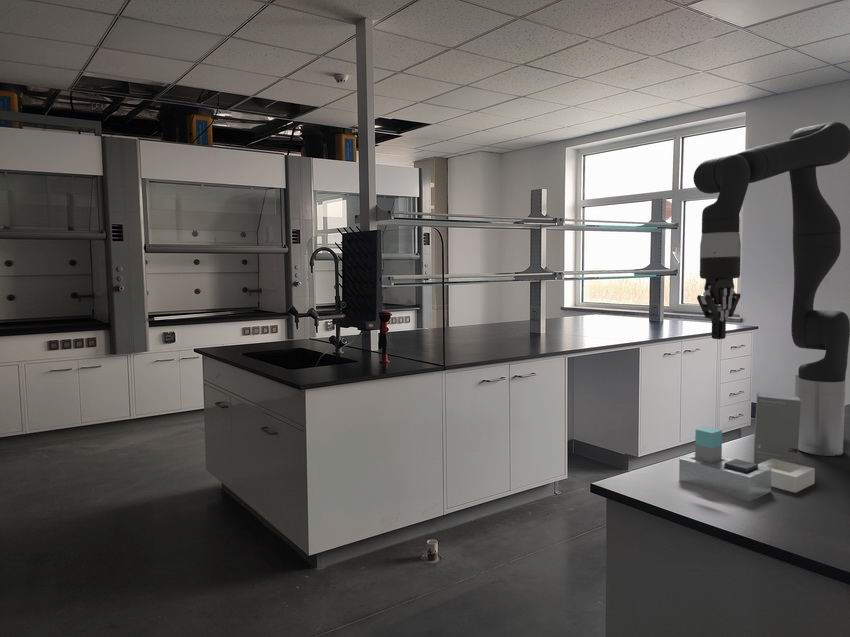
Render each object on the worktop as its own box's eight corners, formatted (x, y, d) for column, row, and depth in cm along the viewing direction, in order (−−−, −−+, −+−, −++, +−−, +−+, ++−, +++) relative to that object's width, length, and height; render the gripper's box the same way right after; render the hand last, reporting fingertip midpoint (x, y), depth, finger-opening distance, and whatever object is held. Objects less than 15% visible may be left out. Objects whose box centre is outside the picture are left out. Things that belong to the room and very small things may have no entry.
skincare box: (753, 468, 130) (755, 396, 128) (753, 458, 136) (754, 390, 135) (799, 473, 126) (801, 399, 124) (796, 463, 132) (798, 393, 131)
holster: (771, 477, 124) (772, 458, 123) (814, 488, 117) (814, 468, 117) (752, 485, 119) (752, 466, 119) (795, 497, 113) (795, 477, 112)
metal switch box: (701, 476, 125) (701, 447, 124) (770, 496, 113) (771, 464, 113) (679, 485, 120) (679, 454, 120) (749, 506, 109) (750, 473, 108)
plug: (721, 483, 119) (722, 430, 118) (711, 487, 117) (712, 433, 116) (704, 479, 122) (705, 426, 121) (694, 482, 120) (695, 429, 119)
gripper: (720, 254, 116) (718, 343, 117) (754, 254, 123) (753, 337, 125) (684, 256, 122) (683, 340, 123) (719, 256, 130) (718, 335, 131)
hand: (718, 338), depth 124 cm, fingers closed
